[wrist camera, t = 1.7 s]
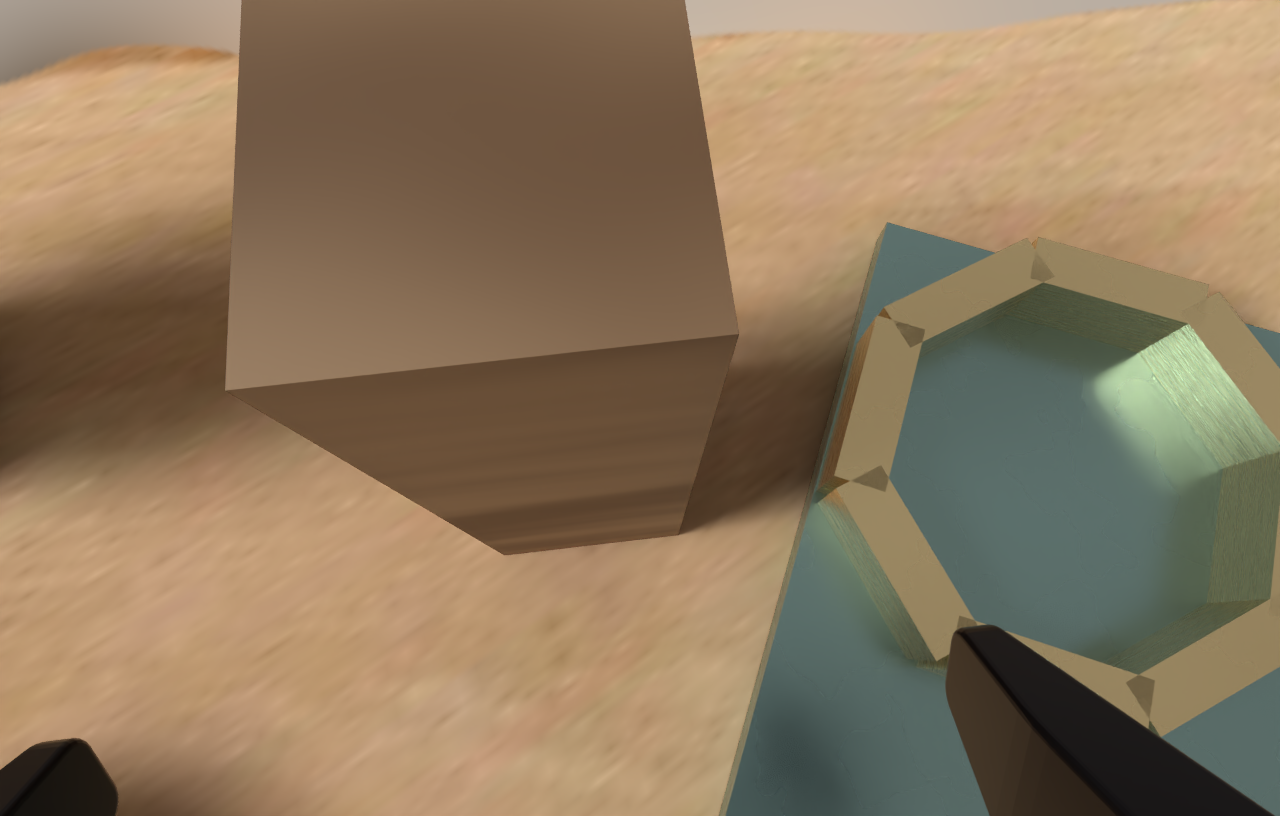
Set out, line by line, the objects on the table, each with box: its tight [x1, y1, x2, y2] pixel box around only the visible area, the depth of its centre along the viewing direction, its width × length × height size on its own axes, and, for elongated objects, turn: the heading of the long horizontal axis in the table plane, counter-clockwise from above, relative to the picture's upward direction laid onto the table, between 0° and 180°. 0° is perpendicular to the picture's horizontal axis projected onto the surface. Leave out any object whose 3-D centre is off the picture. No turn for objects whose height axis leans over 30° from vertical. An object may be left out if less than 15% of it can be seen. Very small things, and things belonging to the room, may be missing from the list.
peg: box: [225, 0, 739, 555], centre depth 14 cm, size 5×5×14 cm
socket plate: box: [719, 222, 1280, 816], centre depth 18 cm, size 18×15×3 cm
